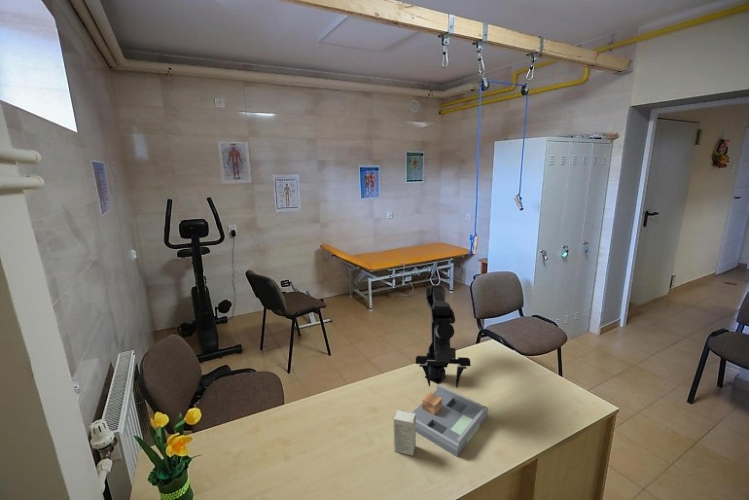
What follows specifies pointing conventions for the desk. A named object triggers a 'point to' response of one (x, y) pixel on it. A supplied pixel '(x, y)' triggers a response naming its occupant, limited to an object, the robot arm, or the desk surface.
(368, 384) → the desk surface
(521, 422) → the desk surface
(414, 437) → the skincare box
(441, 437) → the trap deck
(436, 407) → the block
